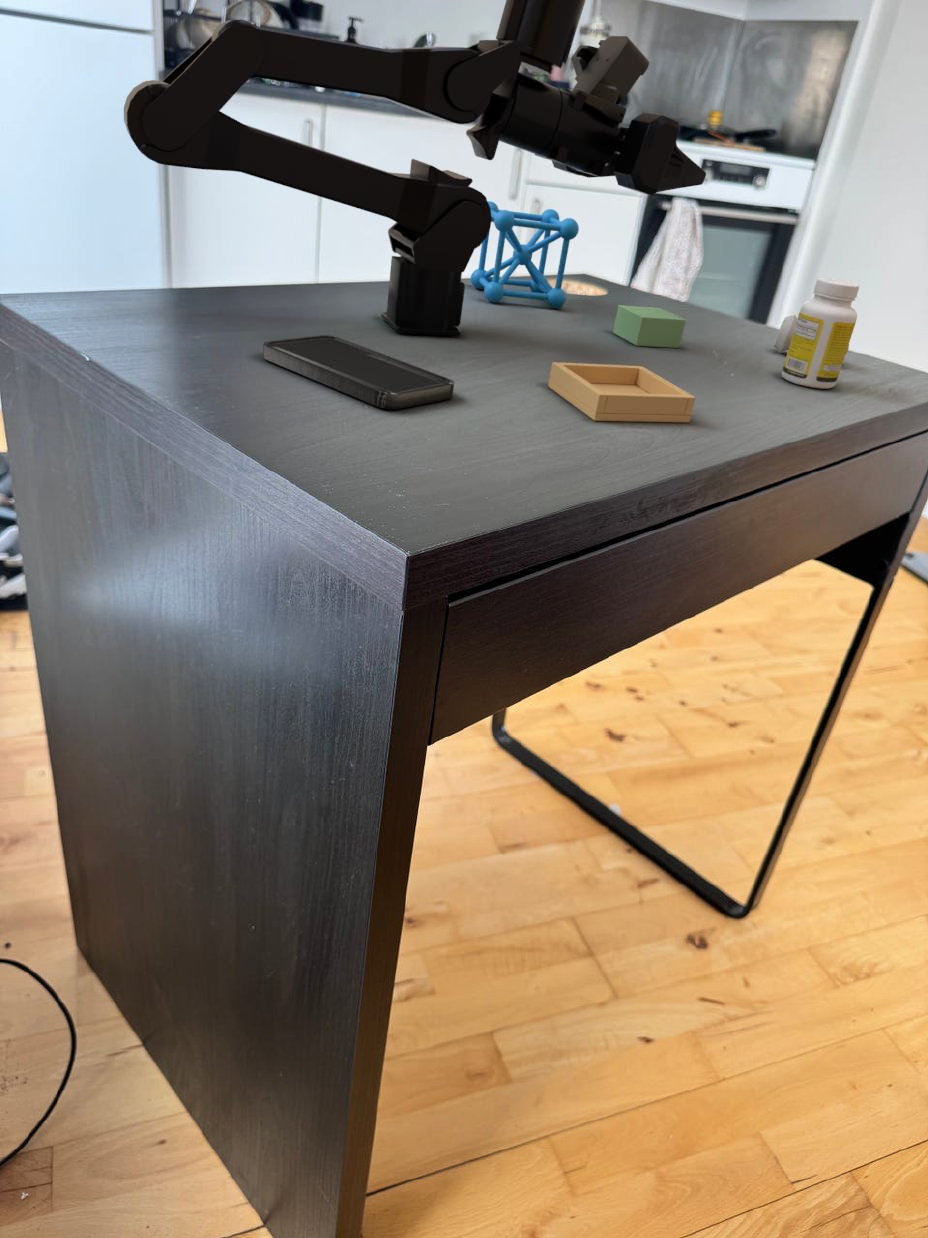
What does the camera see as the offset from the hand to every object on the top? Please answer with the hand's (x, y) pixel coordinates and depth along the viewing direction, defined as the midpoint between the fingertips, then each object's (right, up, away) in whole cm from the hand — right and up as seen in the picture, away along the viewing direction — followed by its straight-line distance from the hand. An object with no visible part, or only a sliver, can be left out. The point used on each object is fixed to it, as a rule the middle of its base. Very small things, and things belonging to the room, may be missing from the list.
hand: (678, 172), depth 92 cm
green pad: (-2, -14, +8) cm, 17 cm away
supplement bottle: (+13, -21, +1) cm, 25 cm away
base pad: (-9, -27, -16) cm, 32 cm away
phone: (-30, -26, -19) cm, 44 cm away
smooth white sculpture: (+17, -15, +12) cm, 26 cm away
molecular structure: (-15, -6, +20) cm, 26 cm away
